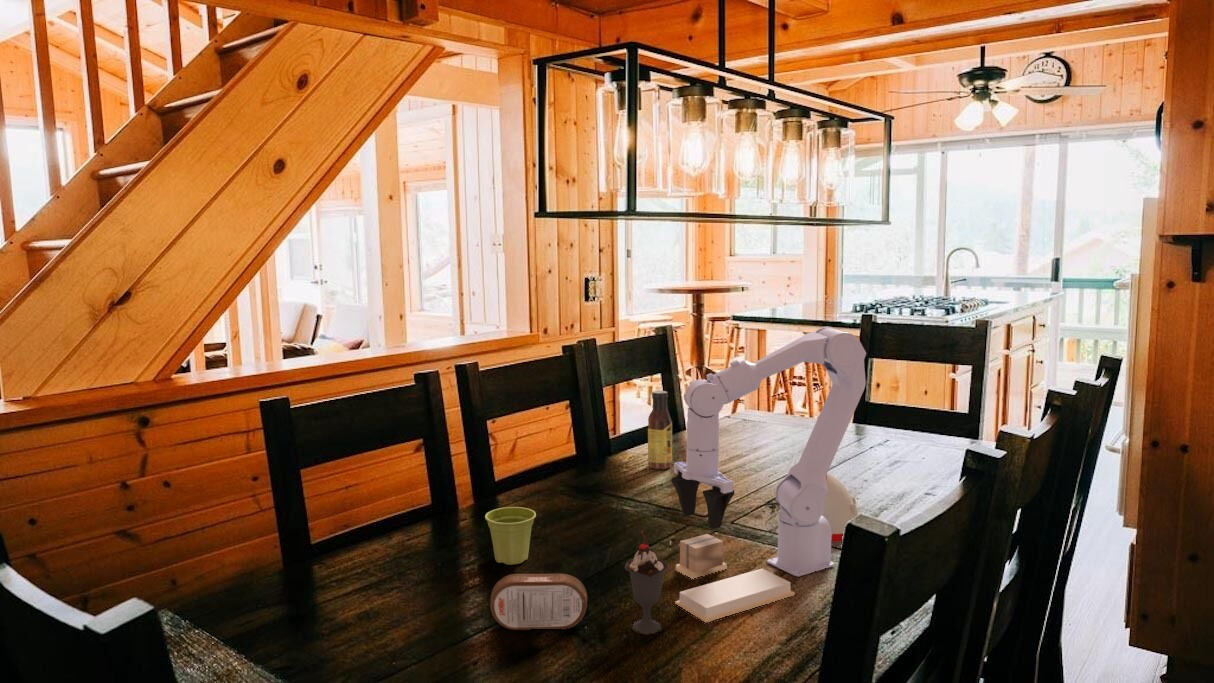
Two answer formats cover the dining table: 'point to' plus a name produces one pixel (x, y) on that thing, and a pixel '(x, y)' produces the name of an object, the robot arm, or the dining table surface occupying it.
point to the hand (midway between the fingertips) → (701, 521)
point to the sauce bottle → (659, 433)
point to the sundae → (646, 584)
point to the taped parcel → (701, 556)
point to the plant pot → (510, 533)
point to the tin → (538, 601)
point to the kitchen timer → (838, 507)
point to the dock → (734, 594)
